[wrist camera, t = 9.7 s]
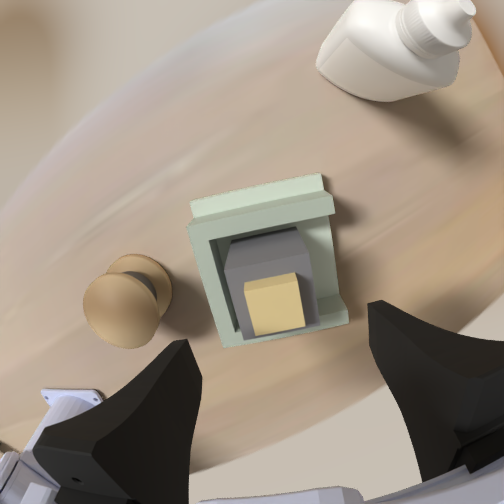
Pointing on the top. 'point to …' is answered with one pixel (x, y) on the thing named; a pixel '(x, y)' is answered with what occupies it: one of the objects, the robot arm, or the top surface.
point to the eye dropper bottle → (396, 47)
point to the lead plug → (271, 283)
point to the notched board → (257, 222)
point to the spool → (128, 301)
